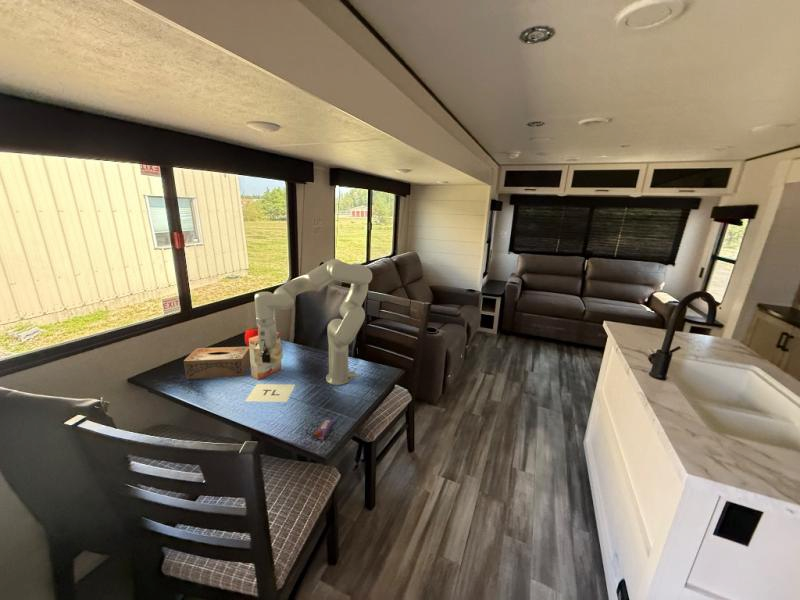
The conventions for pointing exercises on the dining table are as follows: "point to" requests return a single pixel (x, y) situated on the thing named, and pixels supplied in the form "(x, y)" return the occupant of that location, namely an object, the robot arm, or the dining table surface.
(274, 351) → the maple block
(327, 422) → the snack package
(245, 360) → the tissue box cover
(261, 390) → the mat
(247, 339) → the tomato
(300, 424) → the dining table surface
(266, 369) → the cracker box
